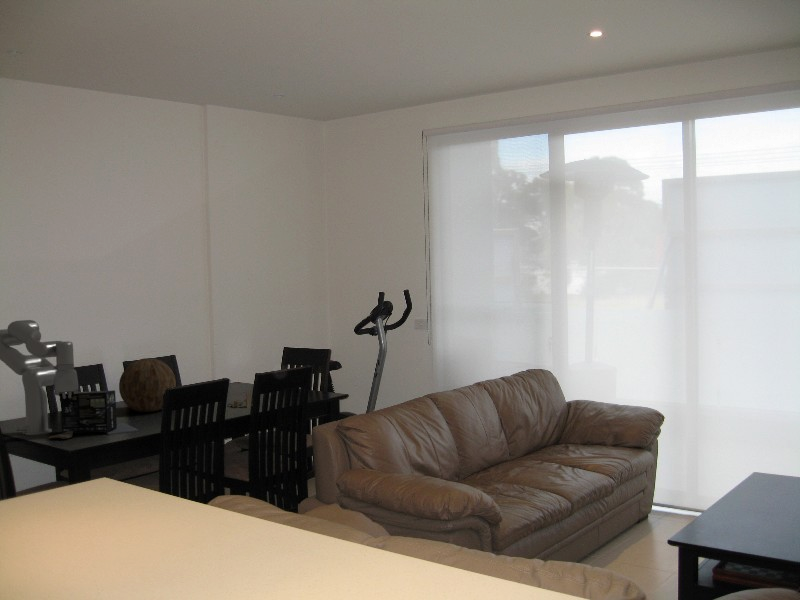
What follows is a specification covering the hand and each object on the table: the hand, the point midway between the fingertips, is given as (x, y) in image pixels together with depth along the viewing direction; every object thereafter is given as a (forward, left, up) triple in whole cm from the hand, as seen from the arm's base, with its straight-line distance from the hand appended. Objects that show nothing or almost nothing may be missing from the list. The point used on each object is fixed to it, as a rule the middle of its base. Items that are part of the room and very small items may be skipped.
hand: (66, 406), depth 371 cm
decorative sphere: (+51, +41, -14) cm, 67 cm away
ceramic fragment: (0, -9, -14) cm, 16 cm away
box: (+10, 0, -13) cm, 17 cm away
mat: (+22, 0, -14) cm, 26 cm away
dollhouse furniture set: (+99, +21, -14) cm, 102 cm away
